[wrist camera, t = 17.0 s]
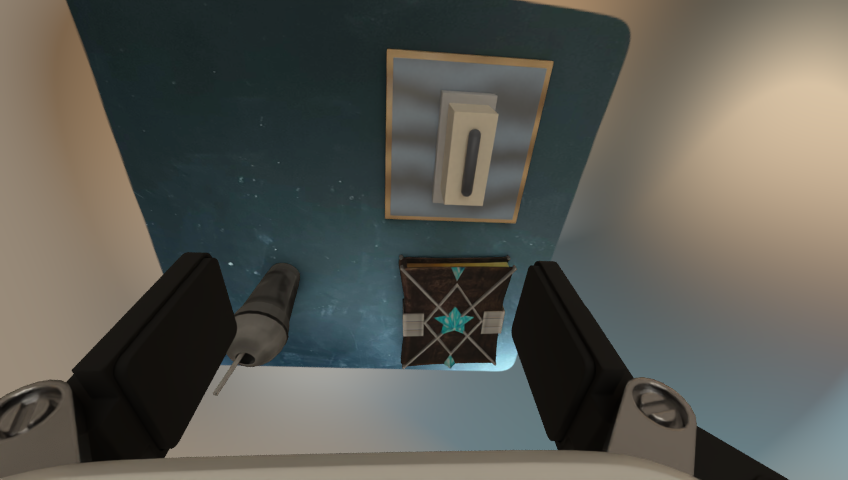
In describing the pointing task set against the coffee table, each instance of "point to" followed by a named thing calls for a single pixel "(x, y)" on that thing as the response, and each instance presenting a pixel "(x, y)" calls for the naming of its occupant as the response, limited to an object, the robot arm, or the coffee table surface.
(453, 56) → the board
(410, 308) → the book
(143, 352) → the robot arm
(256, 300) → the beverage cup
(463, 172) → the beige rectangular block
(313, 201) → the coffee table surface
